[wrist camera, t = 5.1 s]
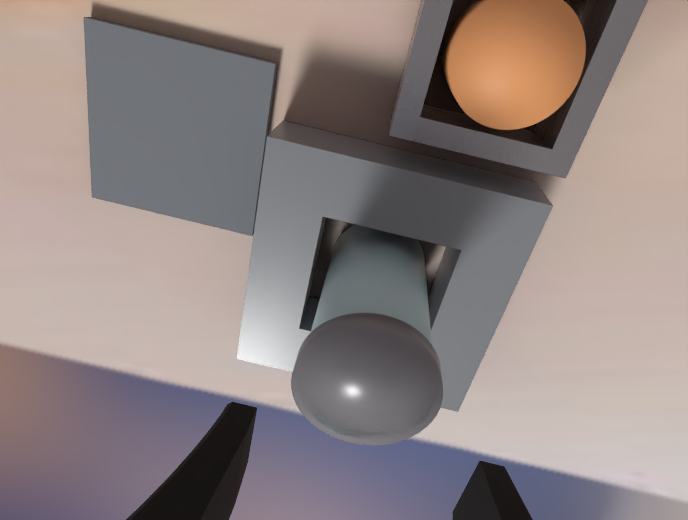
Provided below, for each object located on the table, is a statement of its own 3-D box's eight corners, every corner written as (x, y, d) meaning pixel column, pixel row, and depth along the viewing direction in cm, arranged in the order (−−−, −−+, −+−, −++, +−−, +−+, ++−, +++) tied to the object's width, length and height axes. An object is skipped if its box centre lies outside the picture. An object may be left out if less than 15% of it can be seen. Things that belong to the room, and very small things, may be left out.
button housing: (390, 119, 18) (389, 135, 16) (439, -70, 15) (445, -82, 13) (545, 157, 18) (565, 178, 16) (623, -24, 15) (661, -29, 13)
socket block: (252, 325, 23) (236, 358, 21) (283, 120, 19) (267, 136, 16) (452, 373, 23) (458, 411, 21) (535, 182, 19) (552, 205, 16)
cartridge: (319, 291, 22) (281, 426, 15) (338, 203, 20) (305, 313, 13) (412, 313, 22) (418, 458, 15) (442, 228, 20) (464, 351, 13)
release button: (428, 99, 17) (432, 113, 15) (464, -23, 15) (474, -27, 13) (532, 124, 17) (552, 142, 15) (580, 6, 15) (610, 6, 13)
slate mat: (97, 193, 21) (92, 197, 20) (89, 16, 17) (83, 17, 17) (254, 232, 21) (252, 235, 21) (277, 62, 18) (275, 64, 17)
